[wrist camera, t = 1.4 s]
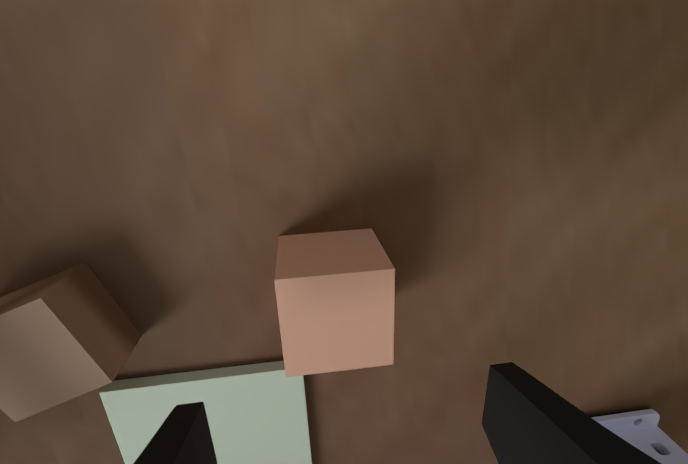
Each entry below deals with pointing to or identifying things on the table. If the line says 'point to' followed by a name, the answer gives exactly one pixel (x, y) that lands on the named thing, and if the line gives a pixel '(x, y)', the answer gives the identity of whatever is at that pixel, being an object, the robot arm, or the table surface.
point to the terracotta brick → (334, 301)
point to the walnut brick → (60, 341)
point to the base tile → (218, 412)
